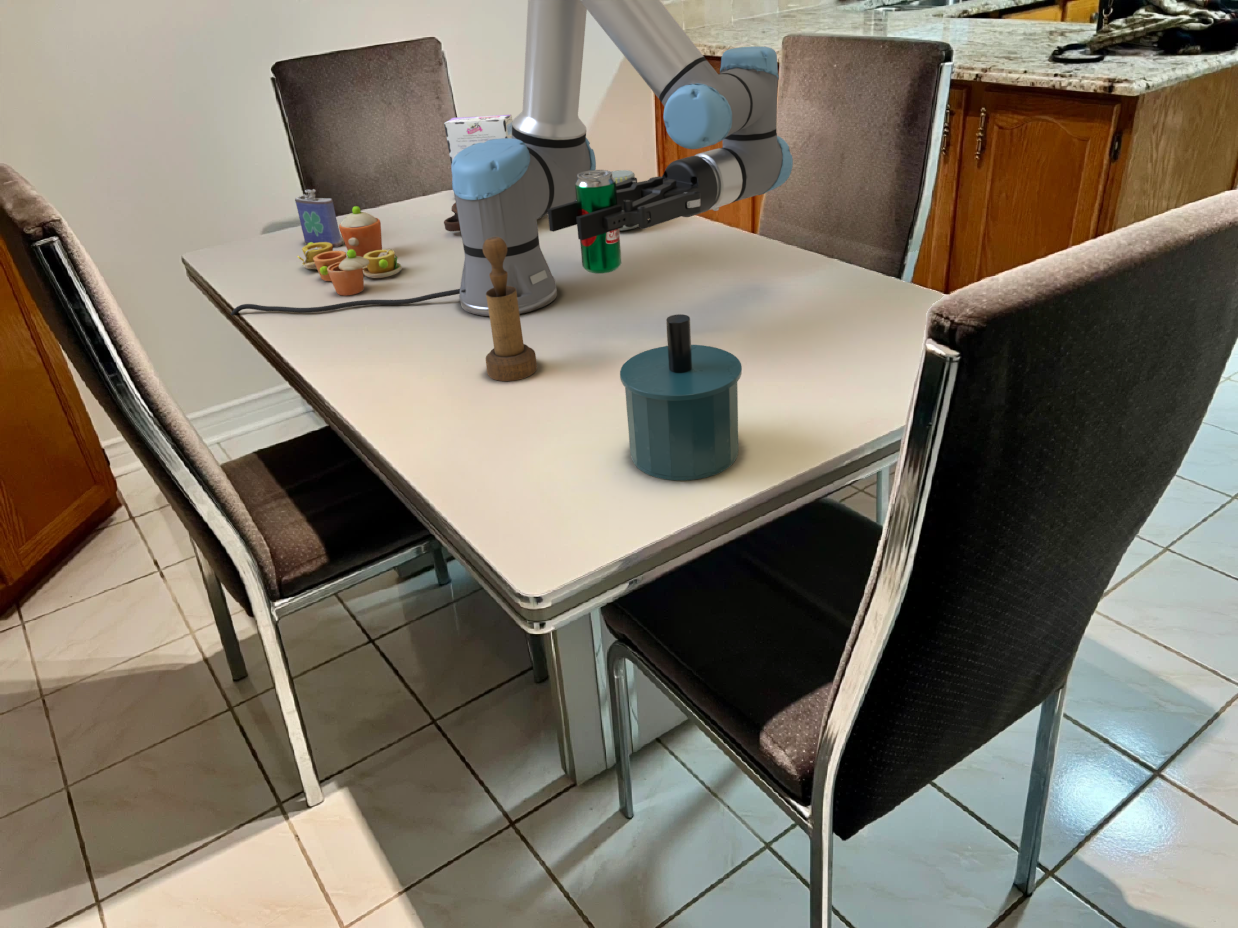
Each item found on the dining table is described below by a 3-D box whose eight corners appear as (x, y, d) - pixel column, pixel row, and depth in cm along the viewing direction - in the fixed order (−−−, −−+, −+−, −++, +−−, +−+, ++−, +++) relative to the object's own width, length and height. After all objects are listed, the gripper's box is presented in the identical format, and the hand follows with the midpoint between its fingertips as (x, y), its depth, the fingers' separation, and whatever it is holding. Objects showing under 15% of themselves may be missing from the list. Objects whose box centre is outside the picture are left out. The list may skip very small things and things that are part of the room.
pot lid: (596, 381, 99) (590, 322, 95) (682, 344, 106) (680, 287, 102) (678, 418, 90) (675, 354, 87) (767, 375, 97) (767, 314, 94)
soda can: (617, 275, 118) (610, 178, 112) (578, 274, 119) (569, 179, 113) (625, 261, 123) (618, 168, 117) (587, 261, 124) (579, 169, 118)
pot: (609, 455, 103) (602, 376, 98) (685, 418, 109) (682, 342, 105) (683, 493, 95) (678, 409, 91) (760, 450, 101) (760, 370, 97)
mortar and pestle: (498, 385, 121) (476, 249, 112) (480, 368, 126) (459, 237, 117) (545, 372, 123) (527, 238, 114) (526, 356, 129) (508, 226, 120)
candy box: (522, 190, 210) (512, 113, 202) (515, 197, 205) (505, 118, 197) (464, 192, 213) (452, 116, 204) (455, 199, 208) (442, 121, 199)
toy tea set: (296, 264, 174) (282, 213, 169) (377, 246, 180) (366, 196, 175) (331, 303, 154) (317, 245, 149) (421, 281, 160) (411, 225, 155)
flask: (345, 243, 184) (332, 188, 178) (334, 248, 181) (321, 192, 176) (311, 240, 188) (298, 186, 182) (300, 244, 186) (286, 190, 180)
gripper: (749, 222, 123) (614, 269, 110) (656, 200, 135) (525, 240, 123) (750, 163, 119) (609, 205, 107) (653, 147, 131) (518, 182, 119)
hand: (564, 224), depth 115 cm, fingers closed on soda can, 5 cm apart
